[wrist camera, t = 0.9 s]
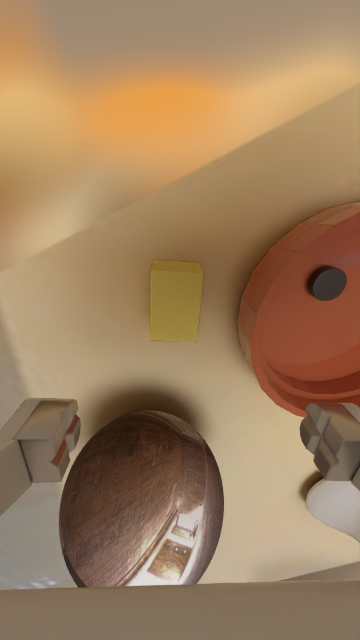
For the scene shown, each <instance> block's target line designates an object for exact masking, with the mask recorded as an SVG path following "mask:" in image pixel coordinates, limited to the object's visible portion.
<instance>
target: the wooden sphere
mask: <svg viewBox="0 0 360 640" xmlns="http://www.w3.org/2000/svg"><path fill="white" fill-rule="evenodd" d="M223 513H224V495H223V486H222V480H221V475H220V472H219V468H218V465H217V462H216V460H215V458H214V455H213V453H212V451H211V449H210V448H209V446H208V445H207V443H206V441H205V440H204V439H203V438H202V436H201V435H200V434H199V433H198V432H197V431H196V430H195V429H194V428H193V427H192V426H191V425H189V424H188V423H187V422H185V421H184V420H182V419H180V418H178V417H176V416H174V415H172V414H169V413H165V412H161V411H152V410H147V411H137V412H133V413H129V414H126V415H123V416H121V417H119V418H117V419H115V420H113V421H111V422H110V423H108V424H107V425H105V426H104V427H103V428H101V429H100V430H99V431H98V432H97V433H96V434H95V435H94V436H93V437H92V438H91V439H90V440H89V441H88V442H87V444H86V445H85V446H84V447H83V449H82V450H81V452H80V453H79V455H78V456H77V458H76V460H75V462H74V463H73V465H72V467H71V470H70V472H69V474H68V477H67V480H66V483H65V486H64V489H63V493H62V498H61V504H60V512H59V535H60V543H61V548H62V553H63V556H64V560H65V563H66V565H67V568H68V570H69V572H70V574H71V576H72V578H73V580H74V582H75V583H76V585H77V586H78V587H79V588H80V587H113V586H146V585H180V584H197V582H198V581H199V580H200V578H201V577H202V576H203V574H204V572H205V571H206V569H207V567H208V565H209V564H210V562H211V560H212V557H213V555H214V553H215V550H216V547H217V544H218V541H219V537H220V533H221V529H222V523H223Z"/></svg>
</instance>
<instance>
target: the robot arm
mask: <svg viewBox="0 0 360 640" xmlns="http://www.w3.org/2000/svg"><path fill="white" fill-rule="evenodd" d="M77 410H78V404H77V400H75V399H55V398H28V399H26V400H24V402H23V403H22V404H21V405H20V407H19V408H18V409H17V410H16V412H15V413H14V414H13V415H12V417H11V418H10V419H9V420H8V422H7V423H6V424H5V425H4V427H3V428H2V429H1V431H0V515H1V514H3V513H4V512H5V511H6V510H7V509H8V508H9V507H10V506H11V505H12V504H13V503H14V502H15V501H16V500H17V499H18V498H19V497H20V496H21V495H22V494H23V493H24V492H25V491H26V490H27V489H28V488H29V487H30V486H31V485H32V483H41V482H61V481H62V479H63V476H64V474H65V471H66V469H67V467H68V464H69V462H70V458H69V453H70V452H71V451H72V450H73V449H74V448H75V447H76V444H77V442H78V439H79V434H80V425H81V423H80V418H79V417H78V416H77V415H76V412H77ZM305 412H306V414H307V417H306V418H304V419H303V420H302V422H301V425H300V436H301V439H302V442H303V444H304V445H305V447H306V449H307V450H309V451H310V452H311V453H313V454H314V463H315V464H316V466H317V468H318V469H319V471H320V473H321V474H322V476H323V478H324V480H325V481H351V484H353V485H354V486H355V487H356V488H357V489H358V490H359V491H360V408H359V407H358V406H357V405H355V404H353V403H310V404H309V405H308V406H307V408H306V410H305ZM0 640H360V579H350V580H317V581H316V580H315V581H284V582H283V581H281V582H247V583H214V584H180V585H146V586H113V587H80V588H47V589H14V590H0Z"/></svg>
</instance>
